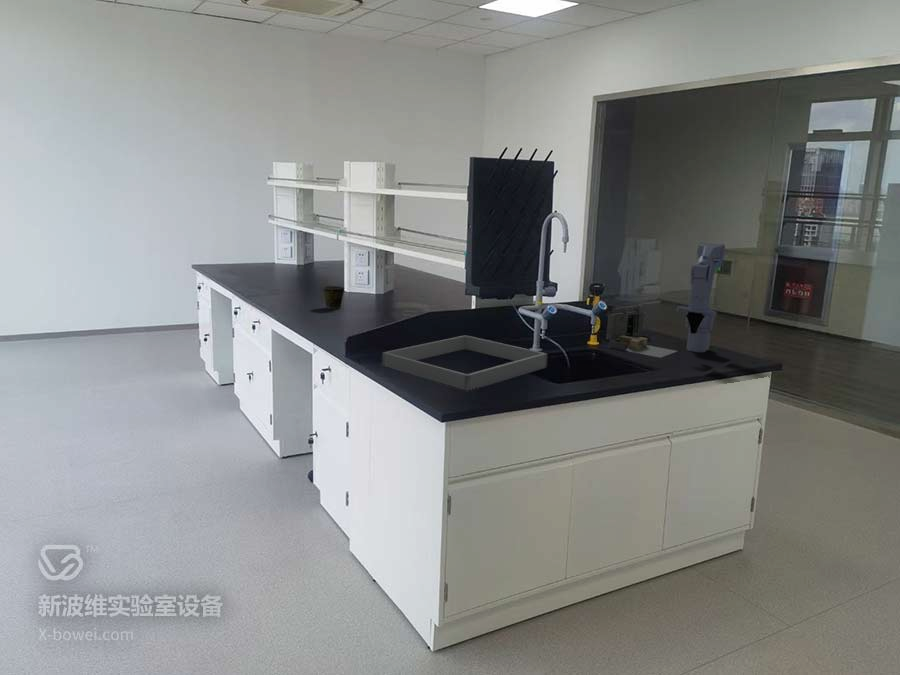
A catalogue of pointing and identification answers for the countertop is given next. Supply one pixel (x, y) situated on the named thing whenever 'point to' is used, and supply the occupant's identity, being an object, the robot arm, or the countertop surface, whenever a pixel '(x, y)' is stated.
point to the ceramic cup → (333, 296)
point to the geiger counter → (625, 322)
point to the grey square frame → (407, 363)
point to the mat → (652, 351)
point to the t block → (634, 342)
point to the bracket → (618, 344)
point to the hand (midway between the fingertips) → (693, 333)
